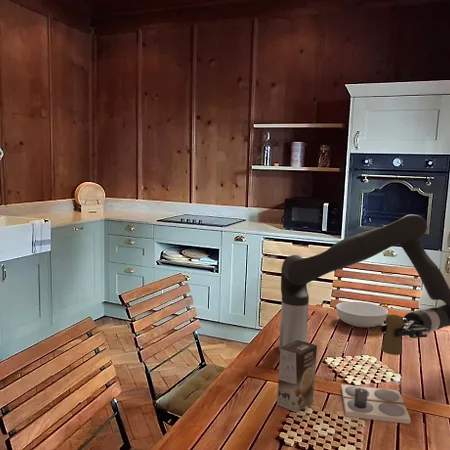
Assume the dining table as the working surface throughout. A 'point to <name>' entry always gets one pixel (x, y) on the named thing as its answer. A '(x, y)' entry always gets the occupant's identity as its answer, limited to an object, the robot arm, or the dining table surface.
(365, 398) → the pin
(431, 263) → the robot arm
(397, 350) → the pepper mill
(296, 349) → the coffee box
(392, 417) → the board
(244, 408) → the dining table surface
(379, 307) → the serving bowl
